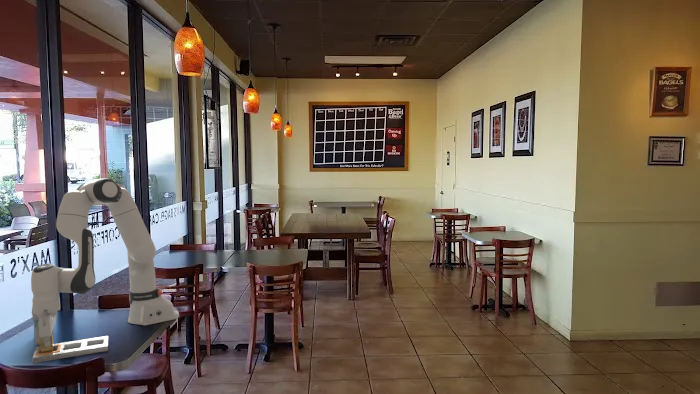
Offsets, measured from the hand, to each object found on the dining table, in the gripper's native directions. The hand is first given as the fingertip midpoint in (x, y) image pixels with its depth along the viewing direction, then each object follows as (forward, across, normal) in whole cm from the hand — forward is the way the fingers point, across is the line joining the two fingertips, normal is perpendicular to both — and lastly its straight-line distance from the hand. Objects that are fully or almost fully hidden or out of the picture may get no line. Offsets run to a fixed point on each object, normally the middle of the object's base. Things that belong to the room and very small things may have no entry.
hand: (49, 341), depth 183 cm
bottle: (+6, +15, +4) cm, 17 cm away
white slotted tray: (+5, 0, -8) cm, 9 cm away
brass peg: (+5, 0, +1) cm, 5 cm away
